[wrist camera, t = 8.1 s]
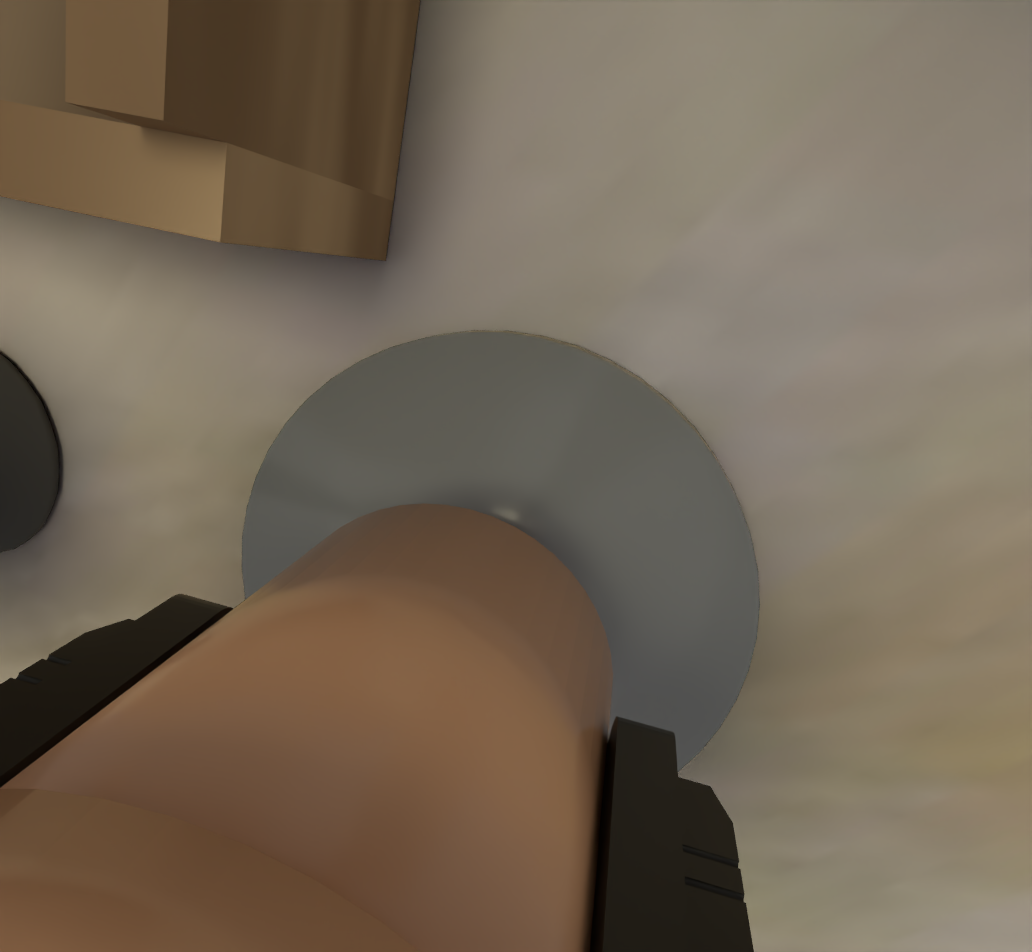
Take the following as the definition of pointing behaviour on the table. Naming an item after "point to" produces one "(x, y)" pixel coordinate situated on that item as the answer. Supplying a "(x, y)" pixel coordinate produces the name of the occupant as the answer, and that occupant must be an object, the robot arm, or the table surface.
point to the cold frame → (211, 115)
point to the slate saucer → (539, 499)
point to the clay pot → (338, 764)
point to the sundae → (24, 460)
